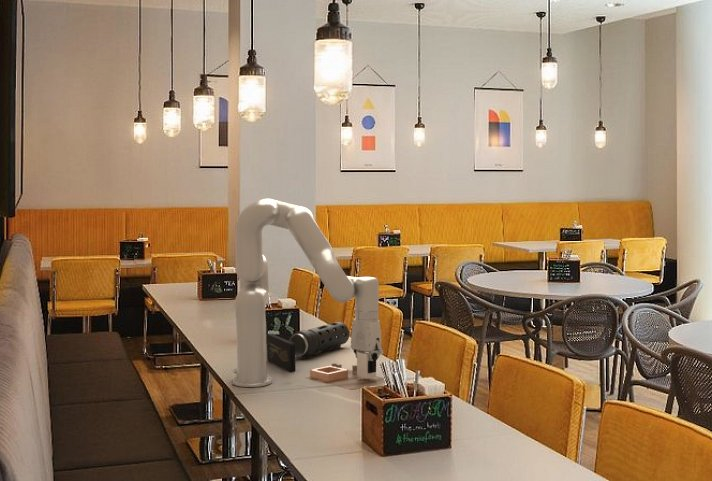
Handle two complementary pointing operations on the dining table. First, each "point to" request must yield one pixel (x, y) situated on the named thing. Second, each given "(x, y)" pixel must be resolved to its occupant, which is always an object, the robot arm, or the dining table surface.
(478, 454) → the dining table surface
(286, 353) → the nameplate
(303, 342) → the muzzle brake
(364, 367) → the white rectangular block
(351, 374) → the board
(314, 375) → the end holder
